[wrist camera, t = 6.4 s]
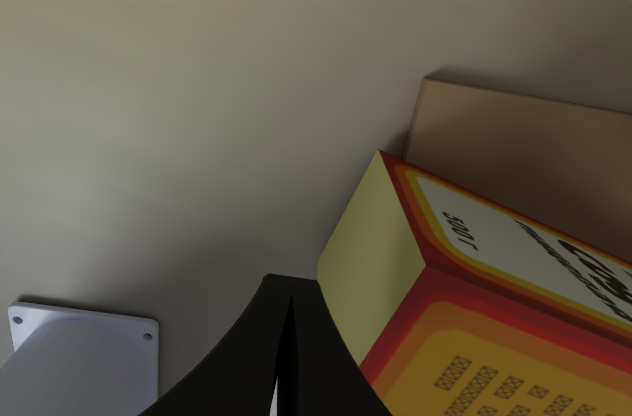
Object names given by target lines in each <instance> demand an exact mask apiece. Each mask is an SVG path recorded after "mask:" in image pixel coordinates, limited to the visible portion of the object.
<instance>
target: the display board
mask: <svg viewBox="0 0 632 416" xmlns="http://www.w3.org/2000/svg"><path fill="white" fill-rule="evenodd" d="M402 160H404V161H406V162H408V163H411V164H413V165H415V166H417V167H420V168H422V169H424V170H426V171H428V172H431V173H433V174H435V175H437V176H440V177H442V178H444V179H446V180H448V181H451V182H453V183H455V184H457V185H460V186H462V187H464V188H466V189H468V190H471V191H473V192H475V193H477V194H480V195H482V196H484V197H486V198H488V199H491V200H493V201H495V202H497V203H500V204H502V205H504V206H506V207H508V208H511V209H513V210H515V211H517V212H520V213H522V214H524V215H526V216H528V217H531V218H533V219H535V220H537V221H540V222H542V223H544V224H546V225H548V226H551V227H553V228H555V229H557V230H560V231H562V232H564V233H566V234H568V235H571V236H573V237H575V238H577V239H580V240H582V241H584V242H586V243H588V244H591V245H593V246H595V247H597V248H600V249H602V250H604V251H606V252H608V253H611V254H613V255H615V256H617V257H620V258H622V259H624V260H626V261H628V262H631V263H632V114H630V113H624V112H619V111H613V110H607V109H602V108H596V107H590V106H584V105H579V104H573V103H567V102H562V101H556V100H550V99H544V98H539V97H533V96H527V95H522V94H516V93H510V92H505V91H499V90H493V89H487V88H482V87H476V86H470V85H465V84H459V83H453V82H447V81H442V80H436V79H430V78H425V77H423V80H422V84H421V88H420V92H419V95H418V99H417V103H416V107H415V111H414V114H413V118H412V122H411V126H410V130H409V134H408V137H407V141H406V145H405V149H404V153H403V156H402Z"/></svg>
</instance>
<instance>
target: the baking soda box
mask: <svg viewBox="0 0 632 416" xmlns="http://www.w3.org/2000/svg"><path fill="white" fill-rule="evenodd" d="M317 282H318V283H319V284H320V287H321V290H322V293H323V296H324V299H325V302H326V304H327V307H328V309H329V311H330V314H331V316H332V318H333V320H334V322H335V325H336V327H337V329H338V331H339V333H340V335H341V337H342V339H343V341H344V342H345V344H346V346H347V348H348V350H349V352H350V353H351V355H352V357H353V358H354V360H355V362H356V363H357V365H358V367H359V368H360V370H361V372H362V373H363V375H364V376H365V378H366V379H367V381H368V382H369V384H370V385H371V387H372V388H373V390H374V391H375V392H376V394H377V395H378V397H379V398H380V399H381V401H382V402H383V403H384V405H385V406H386V407H387V409H388V410H389V411H390V412H391V414H392V415H393V416H632V263H631V262H628V261H626V260H624V259H622V258H620V257H617V256H615V255H613V254H611V253H608V252H606V251H604V250H602V249H600V248H597V247H595V246H593V245H591V244H588V243H586V242H584V241H582V240H580V239H577V238H575V237H573V236H571V235H568V234H566V233H564V232H562V231H560V230H557V229H555V228H553V227H551V226H548V225H546V224H544V223H542V222H540V221H537V220H535V219H533V218H531V217H528V216H526V215H524V214H522V213H520V212H517V211H515V210H513V209H511V208H508V207H506V206H504V205H502V204H500V203H497V202H495V201H493V200H491V199H488V198H486V197H484V196H482V195H480V194H477V193H475V192H473V191H471V190H468V189H466V188H464V187H462V186H460V185H457V184H455V183H453V182H451V181H448V180H446V179H444V178H442V177H440V176H437V175H435V174H433V173H431V172H428V171H426V170H424V169H422V168H420V167H417V166H415V165H413V164H411V163H408V162H406V161H404V160H402V159H400V158H397V157H395V156H393V155H391V154H389V153H386V152H384V151H382V150H380V149H378V150H377V152H376V153H375V155H374V157H373V159H372V161H371V163H370V165H369V167H368V168H367V170H366V172H365V174H364V176H363V178H362V180H361V181H360V183H359V185H358V187H357V189H356V191H355V193H354V195H353V196H352V198H351V200H350V202H349V204H348V206H347V208H346V210H345V211H344V213H343V215H342V217H341V219H340V221H339V223H338V224H337V226H336V228H335V230H334V232H333V234H332V236H331V238H330V239H329V241H328V243H327V245H326V247H325V249H324V251H323V253H322V254H321V256H320V258H319V260H318V262H317Z"/></svg>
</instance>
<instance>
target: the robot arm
mask: <svg viewBox="0 0 632 416" xmlns="http://www.w3.org/2000/svg"><path fill="white" fill-rule="evenodd" d="M8 317H9V322H10V328H11V334H12V340H13V346H14V352H15V353H14V354H13V355H12V356H11V357H10V359H9V360H8V361H7V362H6V363H5V364H4V365H3V367H2V368H1V369H0V416H270V408H271V404H272V399H273V394H274V390H275V385H276V381H277V416H393V415H392V414H391V412H390V411H389V410H388V409H387V407H386V406H385V405H384V403H383V402H382V401H381V399H380V398H379V397H378V395H377V394H376V392H375V391H374V390H373V388H372V387H371V385H370V384H369V382H368V381H367V379H366V378H365V376H364V375H363V373H362V372H361V370H360V368H359V367H358V365H357V363H356V362H355V360H354V358H353V357H352V355H351V353H350V352H349V350H348V348H347V346H346V344H345V342H344V341H343V339H342V337H341V335H340V333H339V331H338V329H337V327H336V325H335V322H334V320H333V318H332V316H331V314H330V311H329V309H328V307H327V304H326V302H325V299H324V296H323V293H322V290H321V287H320V284H319V283H318V282H317V280H311V279H304V278H297V277H290V276H283V275H276V274H267V275H266V276H264V278H263V280H262V283H261V285H260V287H259V289H258V290H257V292H256V294H255V295H254V297H253V299H252V300H251V302H250V303H249V305H248V306H247V307H246V309H245V310H244V312H243V313H242V314H241V316H240V317H239V318H238V320H237V321H236V322H235V324H234V325H233V326H232V327H231V329H230V330H229V331H228V332H227V333H226V335H225V336H224V337H223V338H222V339H221V340H220V342H219V343H218V344H217V345H216V346H215V347H214V348H213V349H212V350H211V352H210V353H209V354H208V355H207V356H206V357H205V358H204V359H203V360H202V361H201V362H200V363H199V364H198V365H197V366H196V367H195V368H194V369H193V370H192V371H191V372H190V373H188V374H187V375H186V376H185V377H184V378H183V379H182V380H181V381H179V382H178V383H177V384H176V385H175V386H174V387H173V388H171V389H170V390H169V391H168V392H167V393H166V394H164V395H163V396H162V397H161V398H160V399H158V359H159V325H158V323H157V322H156V321H155V320H152V319H148V318H140V317H133V316H125V315H117V314H110V313H102V312H95V311H87V310H80V309H72V308H64V307H57V306H49V305H42V304H34V303H26V302H14V303H12V304H11V305H10V306H9V308H8ZM19 317H20V318H21V319H20V318H19ZM146 333H148V334H151V335H152V336H149V335H147V334H146ZM277 376H278V378H277Z"/></svg>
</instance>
